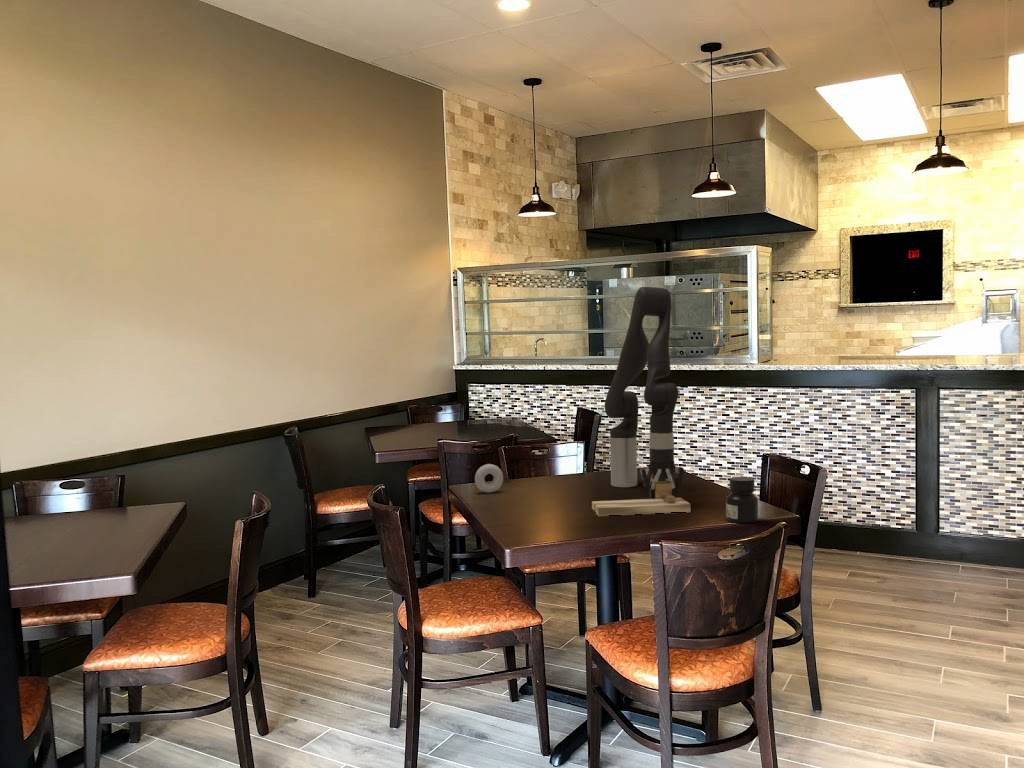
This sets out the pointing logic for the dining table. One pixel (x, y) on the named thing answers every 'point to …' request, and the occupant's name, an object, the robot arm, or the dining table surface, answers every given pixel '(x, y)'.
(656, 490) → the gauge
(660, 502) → the board
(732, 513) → the ink bottle
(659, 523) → the dining table surface
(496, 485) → the donut
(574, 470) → the dining table surface
